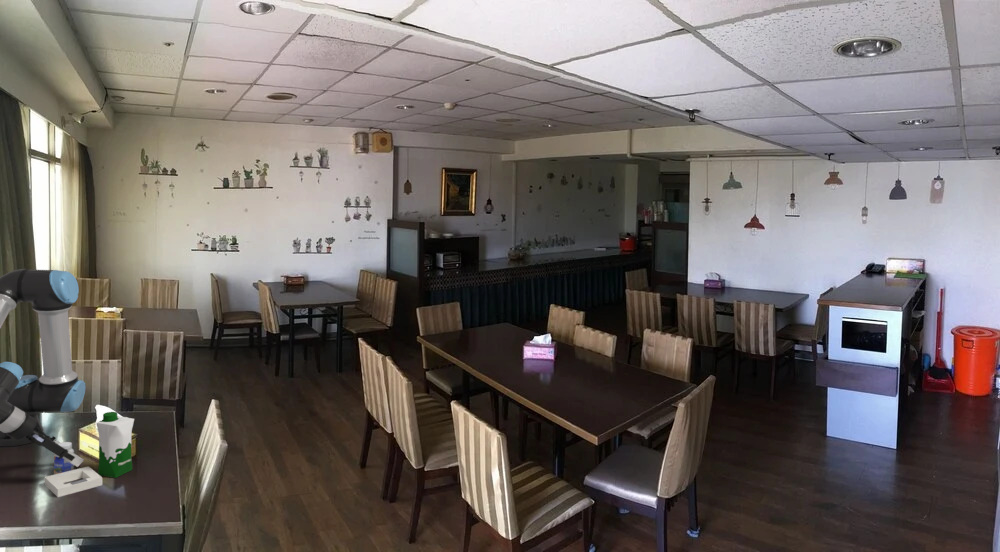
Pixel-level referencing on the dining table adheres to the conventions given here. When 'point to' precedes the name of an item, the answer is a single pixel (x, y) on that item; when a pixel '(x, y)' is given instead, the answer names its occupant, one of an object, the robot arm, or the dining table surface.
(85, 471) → the plate
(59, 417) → the dining table surface
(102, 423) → the milk carton
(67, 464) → the pill bottle
